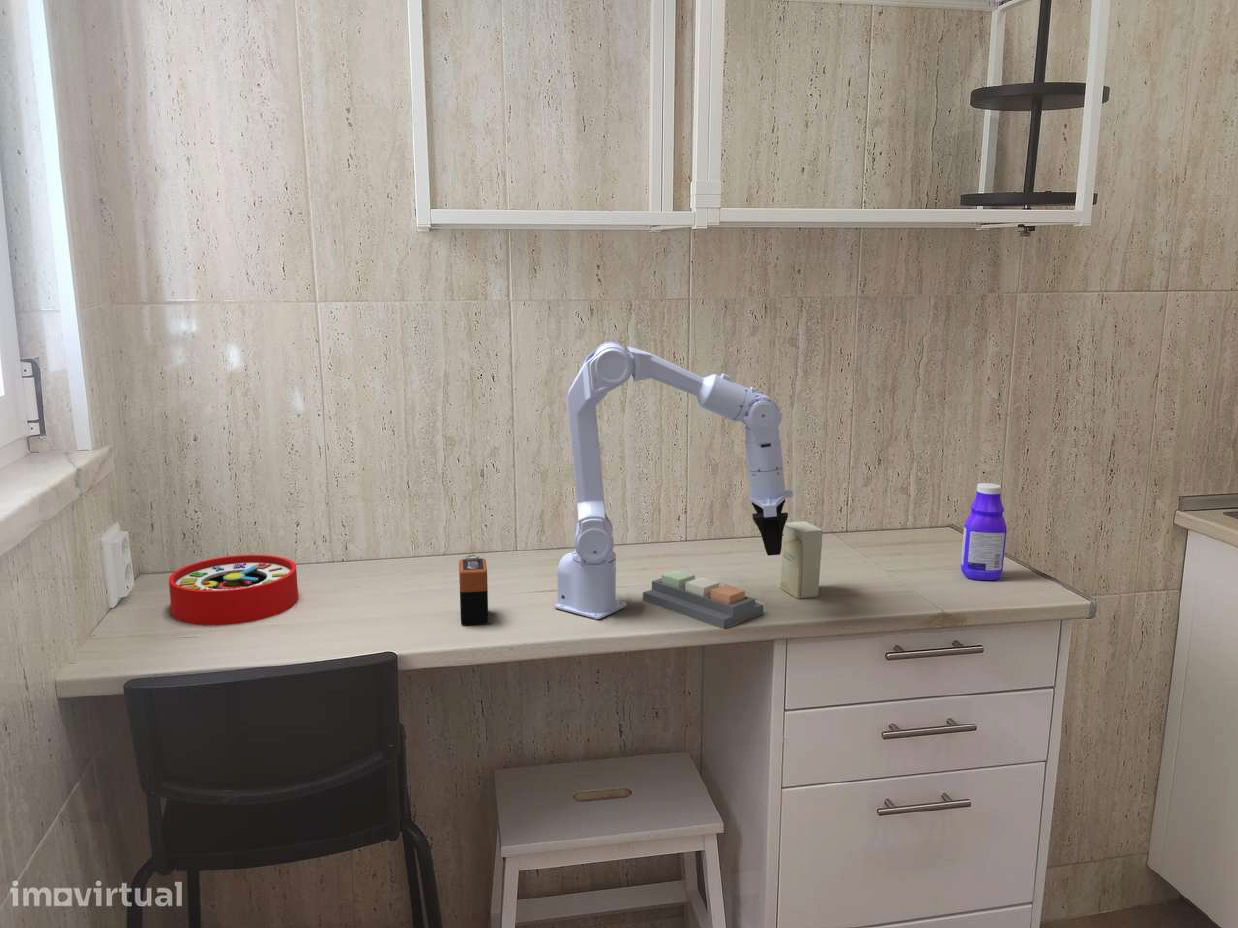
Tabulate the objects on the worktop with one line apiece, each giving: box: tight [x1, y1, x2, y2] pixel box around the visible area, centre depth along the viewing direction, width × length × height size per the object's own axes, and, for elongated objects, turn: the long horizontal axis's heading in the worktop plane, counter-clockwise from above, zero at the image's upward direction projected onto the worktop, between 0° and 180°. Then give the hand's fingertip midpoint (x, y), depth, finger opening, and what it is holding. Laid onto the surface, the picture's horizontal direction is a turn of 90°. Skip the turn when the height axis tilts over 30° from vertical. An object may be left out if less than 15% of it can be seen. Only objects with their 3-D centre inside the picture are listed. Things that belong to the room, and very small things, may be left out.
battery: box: [458, 554, 489, 626], centre depth 159 cm, size 4×7×10 cm, turn 10°
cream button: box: [685, 576, 720, 596], centre depth 165 cm, size 4×4×2 cm
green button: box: [661, 569, 696, 588], centre depth 169 cm, size 4×4×2 cm
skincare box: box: [780, 520, 824, 600], centre depth 172 cm, size 6×4×12 cm
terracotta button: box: [710, 584, 746, 605], centre depth 161 cm, size 4×4×2 cm
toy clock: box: [168, 554, 299, 626], centre depth 166 cm, size 20×6×20 cm
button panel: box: [642, 577, 764, 629], centre depth 165 cm, size 18×10×3 cm, turn 44°
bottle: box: [960, 482, 1008, 581], centre depth 180 cm, size 7×6×17 cm
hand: (773, 547), depth 163 cm, fingers open, 7 cm apart
